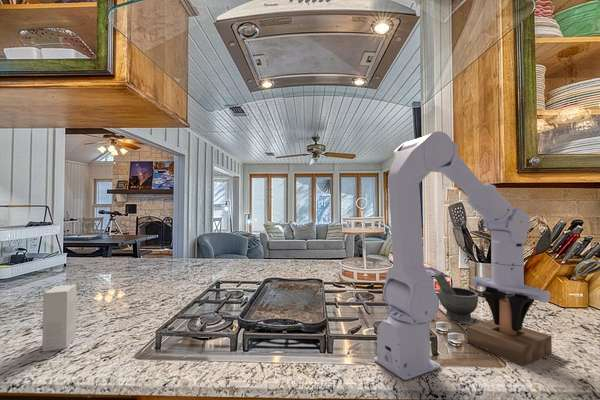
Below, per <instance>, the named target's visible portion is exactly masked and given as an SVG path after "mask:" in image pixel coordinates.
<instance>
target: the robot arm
mask: <svg viewBox="0 0 600 400" xmlns="http://www.w3.org/2000/svg"><path fill="white" fill-rule="evenodd" d="M458 149H459V148H458V144H457V143H456V142H454V141H453V140H452V139H451V137H450V136H449V135H448V134H447V133H445V132H444V131H438V130H437V131H433V132H431V133H430V134H427V135H424V136H422V137H421V136H420V137H417V138H415V139H412V140H406V141H404V142H403V143H402V144H400V145H399V146H398V147H396V149H395V150H394V151H393V157H394V158H393V162H392V163H391V167H390V170H389V171H388V175H387V176H388V178H387V181H388V199H389V215H390V230H391V231H390V232H391V247H392V261H393V262H392V263H393V264H392V266H391V268H389V269H388V270H386V271H385V272H386V273H385V283H384V285H383V288H382V289H383V290H382V297H383V299H384V302H385V303H386V304H387V305H388V311H389V315H388V317H387V318H386V319H385V320H382V321H381V322H380V323H379V324H378V326H377V329H376V330H377V331H376V356H375V357H373V359H374V361H375V362H376V363H378V364H379V365H381V366H383V367H384V368H385V369H387V370H388V371H389V372H391V373H393V374H395V375H396V376H398V377H399V378H400V379H402V380H404V381H407V380H411V379H413V378H416V377H418V376H421V375H423V374H427V373H430V372H431V371H435V370H437V369H440V368H441V367H442V365H441V364H440V363H438V362H436V361H435V360H432V359H431V348H430V347H431V336H430V335H431V333H430V332H431V329H430V328H431V327H430V326H431V323H432V322H433V319H434V318H435V317H436V316H437V314H438V311H439V309H440V299H439V294H437V292H436V290H435V285H434V284H435V283H434V278H433V277H432V276H431V274H430V273H429V271H427V269H426V267H425V264H424V252H423V251H424V249H423V248H424V247H423V236H422V235H423V234H422V233H423V231H422V217H421V216H422V215H421V201H420V200H421V199H420V183H421V182H422V181H423V180H424V179H425V178H426V177H427V176H429V174H430V173H441V174H443V175H444V176H445V177H446V178H447V179H449V180H450V181H451V182H452V183H453V184H455V185H456V186H457V187H458V188H459V189H461V190H462V191H463V192H464V193H465V194H466V195H467V196H466V201H467V203H468V204H469V206H470V207H472V209H473V210H474V211H475V212H476V213H478V214H479V215H480V216H481V219H482V220H483V223H484V228H485V229H486V230H487V231H489V232H490V233H491V234H490V239H491V240H490V241H491V245H490V246H491V249H490V250H491V278H489V277H483V276H482V277H481V276H477V275H476V276H472V277H471V286H473V287H480V288H485V289H484V290H482V291H481V292H482V296H483V297H484V300H486V303H487V305H488V306H489V309H490V312H491V315H492V317H493V319H494V323H495V324H496V325H499V299H506V296H507V295H506V294H509V295H510V294H511V295H513V296H509V297H508V299H509V302H510V306H511V312H512V329H513V331H519V330H521V329H522V327H523V323H524V320H525V319H526V315H527V313H528V311H529V309H530V308H531V306H532V305H533V304H534V302H535V300H536V301H538V302H540V303H544V304H546V303H549V302H551V291H548V290H544V289H540V288H537V287H534V286H530V285H528V284H527V285H526V284H525V277H524V276H525V275H524V274H525V272H524V269H525V267H524V264H525V261H524V259H525V257H524V256H525V255H524V244H525V243H526V241H527V238H528V237H527V235H528V232H529V231H530V228H531V224H532V221H531V220H530V217H529V215H528V213H527V212H526V211H524V210H523V209H522V208H520V207H514V206H513V205H512V204H511V202H510V201H509V200H507V199H506V197H504V196H503V194H502V193H500V192H499V190H498V188H497V186H496V185H494V184H490V183H486V182H485V183H482V182H481V180H480V179H479V177H477V175H476V174H475V173H474V172H473V171H472V170H471V168H470V167H469V166H468V165H467V164H466V162H465V161H464V160H463V159H462V158H461V156H460V155H459V151H458Z"/></svg>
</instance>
